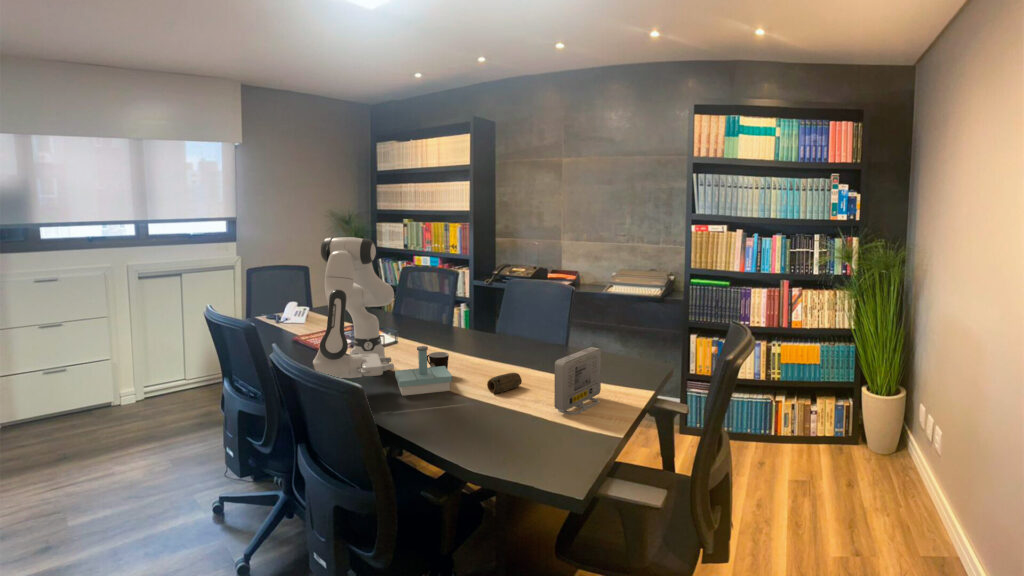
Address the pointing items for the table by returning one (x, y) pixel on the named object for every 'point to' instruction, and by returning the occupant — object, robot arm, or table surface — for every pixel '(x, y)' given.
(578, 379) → the network device
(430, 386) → the tub
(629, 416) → the table surface
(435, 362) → the coffee mug
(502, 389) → the hollow wooden cylinder
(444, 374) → the lid
